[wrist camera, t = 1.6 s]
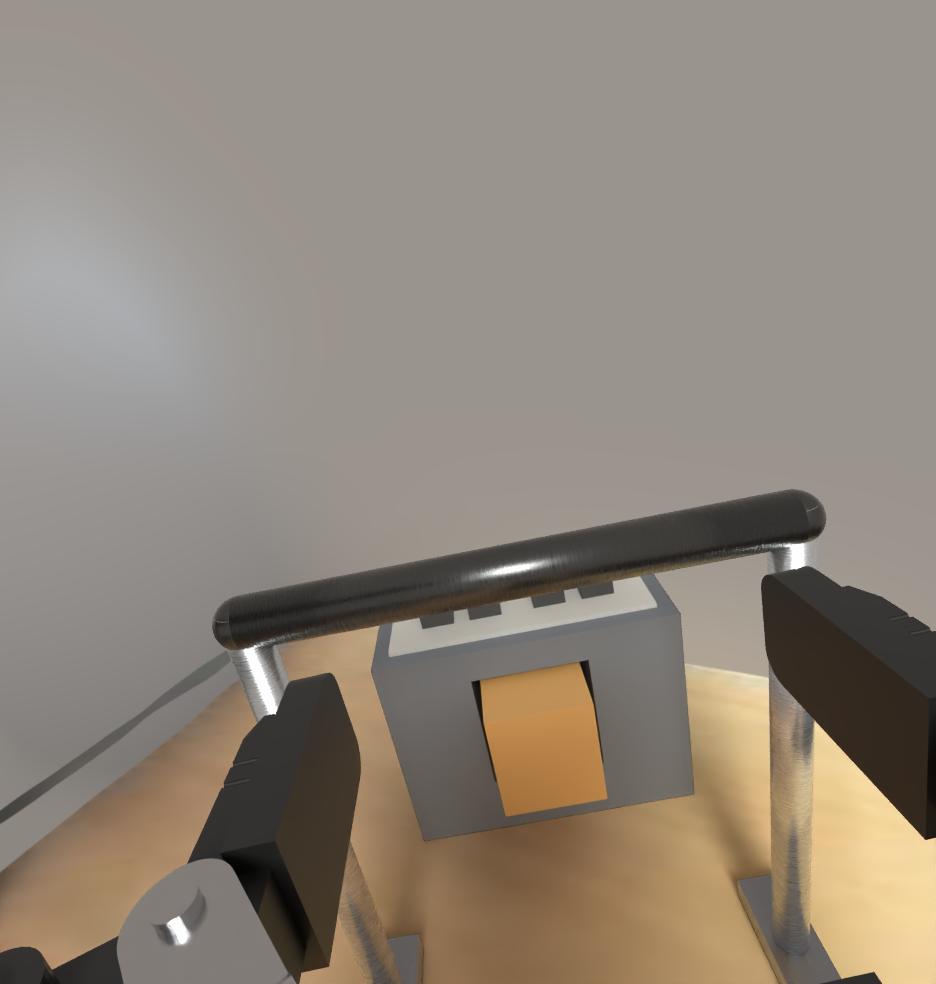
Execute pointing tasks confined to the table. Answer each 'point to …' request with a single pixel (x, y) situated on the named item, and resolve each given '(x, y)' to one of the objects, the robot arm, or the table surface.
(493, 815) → the box
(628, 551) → the cord gate
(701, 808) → the table surface
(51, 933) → the table surface
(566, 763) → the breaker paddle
